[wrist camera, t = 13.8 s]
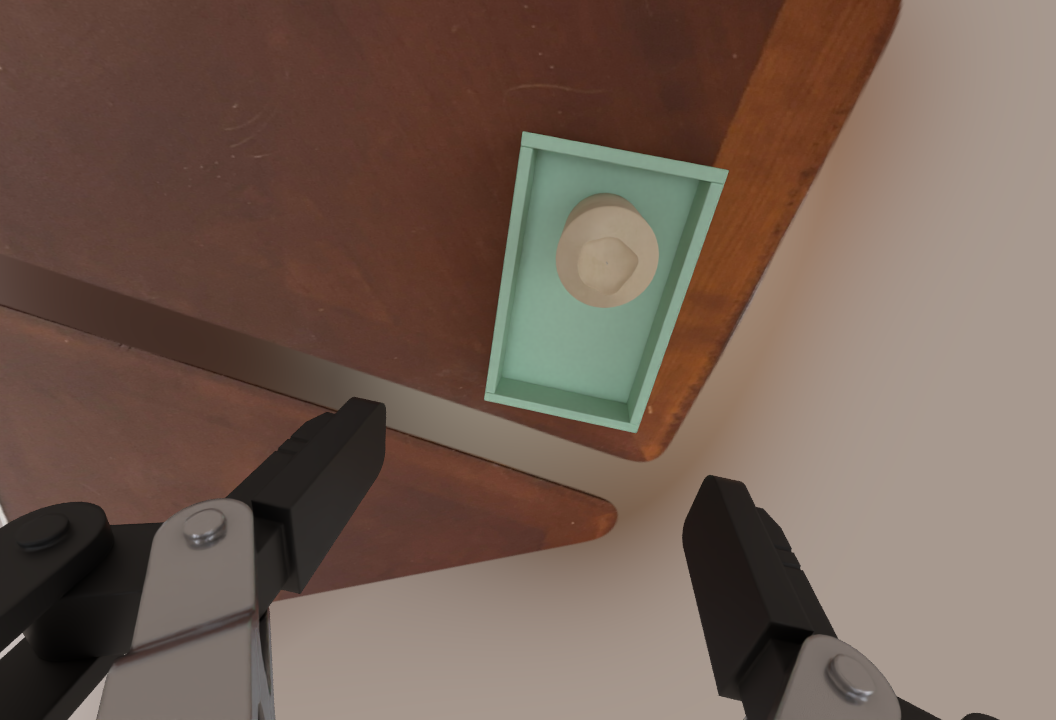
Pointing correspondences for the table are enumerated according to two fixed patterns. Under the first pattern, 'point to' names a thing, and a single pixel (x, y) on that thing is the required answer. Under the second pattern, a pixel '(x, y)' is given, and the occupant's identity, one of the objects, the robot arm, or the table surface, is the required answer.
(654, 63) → the table surface
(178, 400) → the table surface
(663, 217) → the tray
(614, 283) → the candle
